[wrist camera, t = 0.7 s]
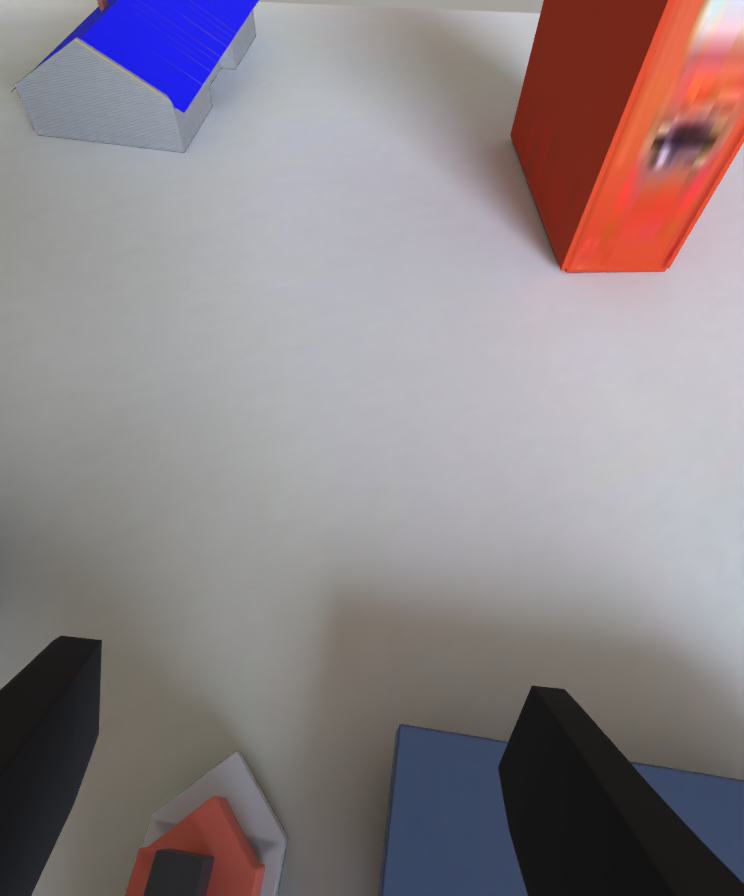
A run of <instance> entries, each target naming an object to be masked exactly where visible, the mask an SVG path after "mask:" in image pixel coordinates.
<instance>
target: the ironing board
mask: <svg viewBox="0 0 744 896" xmlns="http://www.w3.org/2000/svg"><path fill="white" fill-rule="evenodd" d="M507 744H508V742H507V741H501V740H495V739H489V738H483V737H477V736H471V735H464V734H458V733H452V732H446V731H440V730H434V729H428V728H422V727H415V726H409V725H403V724H401V725H399V727H398V729H397V731H396V739H395V748H394V757H393V766H392V775H391V784H390V794H389V803H388V812H387V821H386V830H385V840H384V849H383V858H382V867H381V876H380V886H379V895H378V896H528V894H527V891H526V888H525V884H524V881H523V877H522V874H521V870H520V867H519V863H518V860H517V857H516V853H515V850H514V846H513V843H512V839H511V835H510V832H509V827H508V821H507V816H506V811H505V806H504V800H503V794H502V788H501V782H500V776H499V770H498V766H499V763H500V761H501V758H502V756H503V754H504V751H505V749H506V746H507ZM629 762H630V761H629ZM630 763H631V764H632V765H633V767H634V768H635V769H636V770H637V771H638V772H639V773H640V774H641V775H642V777H643V778H644V779H645V780H646V781H647V782H648V783H649V784H650V786H651V787H652V788H653V789H654V790H655V791H656V792H657V793H658V794H659V795H660V797H661V798H662V799H663V800H664V801H665V802H666V803H667V804H668V805H669V806H670V807H671V809H672V810H673V811H674V812H675V813H676V814H677V815H678V816H679V817H680V818H681V819H682V820H683V821H684V823H685V824H686V825H687V826H688V827H689V828H690V829H691V830H692V831H693V832H694V833H695V834H696V835H697V836H698V837H699V838H700V840H701V841H702V842H703V843H704V844H705V845H706V846H707V847H708V848H709V849H710V850H711V851H712V852H713V853H714V854H715V855H716V856H717V857H718V858H719V859H720V860H721V861H722V862H723V863H724V864H725V865H726V866H727V867H728V868H729V869H730V870H731V871H732V872H733V873H734V874H735V875H736V876H737V877H738V878H739V879H740V880H741V881H742V882H743V883H744V780H740V779H734V778H727V777H721V776H715V775H709V774H703V773H697V772H691V771H685V770H679V769H672V768H666V767H660V766H654V765H648V764H642V763H636V762H630Z"/></svg>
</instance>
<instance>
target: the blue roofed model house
mask: <svg viewBox="0 0 744 896" xmlns="http://www.w3.org/2000/svg"><path fill="white" fill-rule="evenodd" d="M97 1H98V5H99V7H98V8H97V9H96V10H95V11H94V12H93V13H92V14H91V15H90V16H89V17H87V18H86V19H85V20H84V21H83V22H82V23H81V24H80V25H79V26H78V27H77V28H76V29H75V30H74V31H73V32H72V33H71V34H70V35H69V36H68V37H67V38H66V39H65V40H64V41H63V42H62V43H61V44H60V45H59V46H58V47H57V48H56V49H55V50H54V51H52V52H51V53H50V54H49V55H48V56H47V57H46V58H45V59H44V60H43V61H42V62H41V63H40V64H39V65H38V66H37V67H36V68H35V69H34V70H33V71H32V72H30V73H29V74H28V75H26V76H25V77H24V78H22V79H21V80H20V81H19V82H18V83H17V84H15V88H14V89H13V90H12V91H14V92H15V91H18V93H19V96H20V98H21V100H22V102H23V104H24V107H25V109H26V111H27V113H28V116H29V118H30V120H31V122H32V124H33V127H34V129H35V131H36V133H37V135H44V136H52V137H60V138H68V139H77V140H85V141H93V142H101V143H109V144H118V145H126V146H134V147H142V148H150V149H159V150H167V151H175V152H183V153H184V152H185V151H186V149H187V147H188V146H189V144H190V143H191V141H192V139H193V138H194V136H195V134H196V133H197V131H198V129H199V128H200V126H201V125H202V123H203V121H204V120H205V118H206V116H207V115H208V113H209V112H210V110H211V108H212V101H211V96H210V91H209V86H210V85H211V83H212V82H213V80H214V79H215V77H216V75H217V74H218V72H219V71H220V69H221V68H227V69H236V67H237V66H238V64H239V63H240V61H241V59H242V58H243V56H244V54H245V53H246V51H247V49H248V48H249V46H250V45H251V43H252V41H253V40H254V38H255V36H256V31H255V22H254V14H253V8H254V7H255V6H256V4H257V3H258V1H259V0H97ZM12 91H11V92H12Z"/></svg>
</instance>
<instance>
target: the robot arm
mask: <svg viewBox="0 0 744 896" xmlns="http://www.w3.org/2000/svg"><path fill="white" fill-rule="evenodd" d="M101 646H102V640H95V639H86V638H76V637H67V636H60V637H58V638H57V639H55V640H54V641H52V642H51V643H50V644H49V645H48V646H47V647H46V648H45V649H44V650H43V651H42V652H41V653H40V654H39V655H38V656H36V657H35V658H34V659H33V660H32V661H31V662H30V663H29V664H28V665H27V666H26V667H25V668H24V669H23V670H22V671H20V672H19V673H18V674H17V675H16V676H15V677H14V678H13V679H12V680H11V681H10V682H9V683H7V684H6V685H5V686H4V687H3V688H2V689H1V690H0V896H31V895H32V892H33V890H34V888H35V886H36V884H37V882H38V880H39V878H40V875H41V873H42V871H43V869H44V867H45V865H46V863H47V861H48V858H49V856H50V854H51V852H52V850H53V848H54V846H55V843H56V841H57V839H58V837H59V835H60V833H61V831H62V828H63V826H64V824H65V822H66V820H67V818H68V815H69V813H70V811H71V809H72V807H73V805H74V802H75V799H76V797H77V794H78V791H79V788H80V786H81V783H82V780H83V777H84V774H85V772H86V769H87V766H88V763H89V760H90V757H91V754H92V752H93V749H94V746H95V743H96V740H97V737H98V734H99V708H100V677H101ZM498 770H499V776H500V782H501V788H502V794H503V800H504V806H505V811H506V816H507V821H508V827H509V832H510V835H511V839H512V843H513V846H514V850H515V853H516V857H517V860H518V863H519V867H520V870H521V874H522V877H523V881H524V884H525V888H526V891H527V894H528V896H744V883H743V882H742V881H741V880H740V879H739V878H738V877H737V876H736V875H735V874H734V873H733V872H732V871H731V870H730V869H729V868H728V867H727V866H726V865H725V864H724V863H723V862H722V861H721V860H720V859H719V858H718V857H717V856H716V855H715V854H714V853H713V852H712V851H711V850H710V849H709V848H708V847H707V846H706V845H705V844H704V843H703V842H702V841H701V840H700V838H699V837H698V836H697V835H696V834H695V833H694V832H693V831H692V830H691V829H690V828H689V827H688V826H687V825H686V824H685V823H684V821H683V820H682V819H681V818H680V817H679V816H678V815H677V814H676V813H675V812H674V811H673V810H672V809H671V807H670V806H669V805H668V804H667V803H666V802H665V801H664V800H663V799H662V798H661V797H660V795H659V794H658V793H657V792H656V791H655V790H654V789H653V788H652V787H651V786H650V784H649V783H648V782H647V781H646V780H645V779H644V778H643V777H642V775H641V774H640V773H639V772H638V771H637V770H636V769H635V768H634V767H633V765H632V764H631V763H630V762H629V761H628V760H627V759H626V757H625V756H624V755H623V754H622V753H621V752H620V751H619V750H618V748H617V747H616V746H615V745H614V744H613V743H612V742H611V740H610V739H609V738H608V737H607V736H606V735H605V734H604V732H603V731H602V730H601V729H600V728H599V727H598V726H597V725H596V723H595V722H594V721H593V720H592V719H591V718H590V717H589V715H588V714H587V713H586V712H585V711H584V710H583V709H582V708H581V706H580V705H579V704H578V703H577V702H576V701H575V700H574V699H573V698H572V697H571V696H570V695H569V694H568V692H567V691H566V690H565V689H558V688H549V687H539V686H532V687H531V689H530V692H529V694H528V696H527V699H526V701H525V704H524V706H523V708H522V711H521V713H520V716H519V718H518V720H517V723H516V725H515V727H514V730H513V732H512V735H511V737H510V739H509V742H508V744H507V746H506V749H505V751H504V754H503V756H502V758H501V761H500V763H499V766H498Z"/></svg>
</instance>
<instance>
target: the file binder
mask: <svg viewBox="0 0 744 896" xmlns="http://www.w3.org/2000/svg"><path fill="white" fill-rule="evenodd" d="M511 138H512V141H513V143H514V146H515V149H516V151H517V154H518V157H519V159H520V162H521V165H522V167H523V170H524V173H525V176H526V178H527V181H528V184H529V186H530V189H531V192H532V194H533V197H534V200H535V202H536V205H537V208H538V210H539V213H540V216H541V218H542V221H543V224H544V226H545V229H546V232H547V235H548V237H549V240H550V243H551V245H552V248H553V251H554V253H555V256H556V259H557V261H558V264H559V267H560V269H561V270H566V272H663V271H665V270H666V269H667V268H669V267H670V266H671V264H672V262H673V261H674V259H675V257H676V256H677V254H678V252H679V250H680V249H681V247H682V245H683V244H684V242H685V240H686V239H687V237H688V235H689V234H690V232H691V230H692V228H693V227H694V225H695V223H696V222H697V220H698V218H699V217H700V215H701V213H702V212H703V210H704V208H705V207H706V205H707V203H708V201H709V200H710V198H711V196H712V195H713V193H714V191H715V190H716V188H717V186H718V185H719V183H720V181H721V179H722V178H723V176H724V174H725V173H726V171H727V169H728V168H729V166H730V164H731V163H732V161H733V159H734V158H735V156H736V154H737V152H738V151H739V149H740V147H741V146H742V144H743V142H744V0H544V2H543V6H542V10H541V14H540V18H539V22H538V26H537V30H536V34H535V38H534V42H533V46H532V50H531V54H530V58H529V63H528V67H527V71H526V75H525V79H524V83H523V87H522V91H521V95H520V99H519V103H518V107H517V111H516V115H515V119H514V123H513V127H512V131H511Z"/></svg>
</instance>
